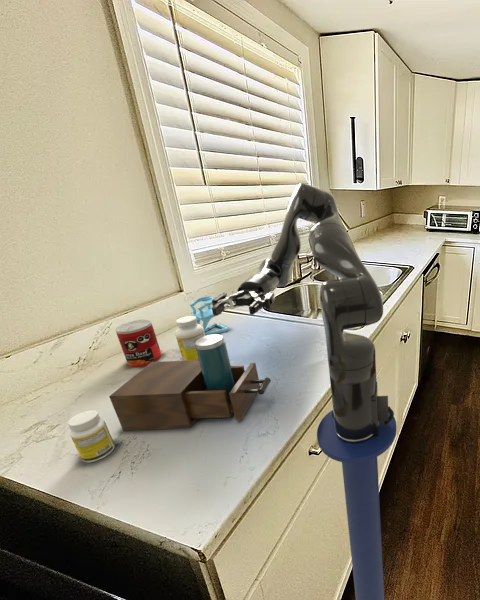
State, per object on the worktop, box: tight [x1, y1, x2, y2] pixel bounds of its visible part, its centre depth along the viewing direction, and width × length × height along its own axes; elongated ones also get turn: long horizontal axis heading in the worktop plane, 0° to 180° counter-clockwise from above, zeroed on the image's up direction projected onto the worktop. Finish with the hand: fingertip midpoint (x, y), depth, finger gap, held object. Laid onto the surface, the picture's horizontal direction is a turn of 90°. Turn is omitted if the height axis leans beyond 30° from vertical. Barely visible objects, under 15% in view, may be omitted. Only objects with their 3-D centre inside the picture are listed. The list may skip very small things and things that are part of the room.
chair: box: [189, 295, 229, 336], centre depth 107 cm, size 8×8×12 cm
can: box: [195, 333, 235, 404], centre depth 70 cm, size 5×5×15 cm
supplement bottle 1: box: [67, 409, 116, 463], centre depth 60 cm, size 5×5×8 cm
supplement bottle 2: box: [174, 315, 206, 361], centre depth 90 cm, size 7×7×13 cm
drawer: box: [183, 362, 272, 421], centre depth 72 cm, size 17×11×7 cm
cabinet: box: [108, 360, 202, 432], centre depth 71 cm, size 14×13×9 cm
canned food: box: [115, 319, 162, 368], centre depth 90 cm, size 8×8×11 cm
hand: (232, 311), depth 78 cm, fingers open, 8 cm apart
